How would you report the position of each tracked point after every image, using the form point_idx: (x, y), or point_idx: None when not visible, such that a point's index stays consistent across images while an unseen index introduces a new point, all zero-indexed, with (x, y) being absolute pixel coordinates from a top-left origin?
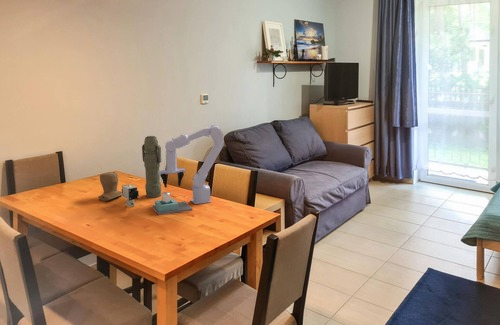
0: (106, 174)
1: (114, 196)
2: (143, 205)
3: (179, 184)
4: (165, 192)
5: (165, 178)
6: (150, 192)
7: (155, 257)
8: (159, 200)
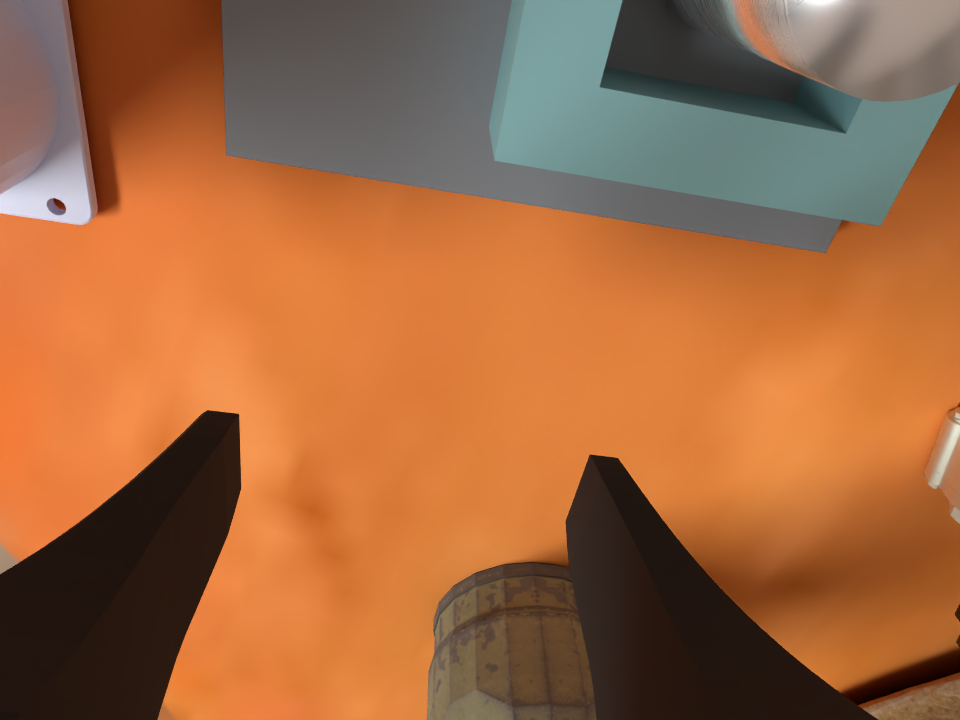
0: None
1: (957, 693)
2: (848, 376)
3: (215, 435)
4: (890, 57)
5: (737, 677)
6: None
7: None
8: (803, 189)
